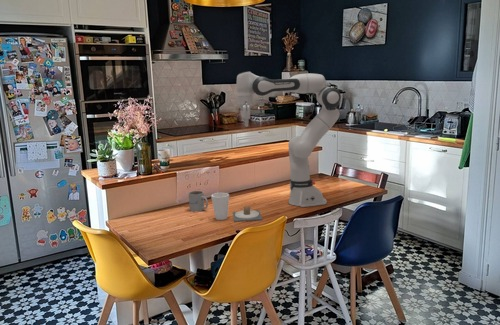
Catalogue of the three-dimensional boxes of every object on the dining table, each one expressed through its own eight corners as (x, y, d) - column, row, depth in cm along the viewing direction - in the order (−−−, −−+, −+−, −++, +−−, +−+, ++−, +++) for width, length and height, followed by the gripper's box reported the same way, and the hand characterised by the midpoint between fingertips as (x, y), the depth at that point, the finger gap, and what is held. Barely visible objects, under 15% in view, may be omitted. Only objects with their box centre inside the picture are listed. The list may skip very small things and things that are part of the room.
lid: (257, 211, 240) (257, 203, 239) (260, 218, 227) (260, 210, 226) (234, 212, 239) (234, 204, 238) (235, 220, 226) (235, 211, 225)
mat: (259, 211, 241) (259, 210, 241) (262, 220, 226) (262, 218, 226) (232, 213, 240) (232, 212, 240) (234, 221, 225) (234, 220, 225)
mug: (186, 209, 249) (185, 193, 247) (198, 206, 255) (197, 190, 253) (200, 213, 241) (199, 196, 239) (211, 210, 247) (210, 193, 245)
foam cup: (227, 221, 226) (226, 197, 224) (210, 220, 228) (209, 197, 226) (231, 215, 236) (230, 192, 233) (215, 215, 237) (214, 192, 235)
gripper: (252, 101, 230) (253, 127, 233) (249, 100, 250) (250, 123, 253) (240, 102, 230) (241, 128, 232) (238, 100, 250) (239, 124, 252)
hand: (246, 125), depth 243 cm, fingers open, 8 cm apart
